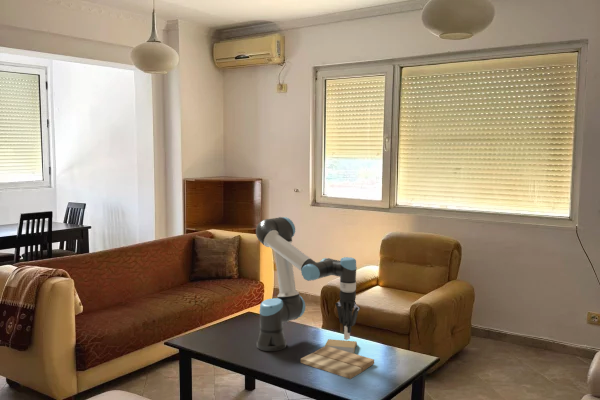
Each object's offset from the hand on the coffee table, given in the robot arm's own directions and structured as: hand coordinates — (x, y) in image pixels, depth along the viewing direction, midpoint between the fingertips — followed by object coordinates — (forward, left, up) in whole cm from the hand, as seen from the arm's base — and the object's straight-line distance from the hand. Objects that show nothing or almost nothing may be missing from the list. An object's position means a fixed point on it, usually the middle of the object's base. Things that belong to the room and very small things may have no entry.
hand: (347, 338), depth 251 cm
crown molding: (-9, +9, -11) cm, 17 cm away
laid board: (0, -14, -10) cm, 17 cm away
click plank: (0, -3, -9) cm, 10 cm away
